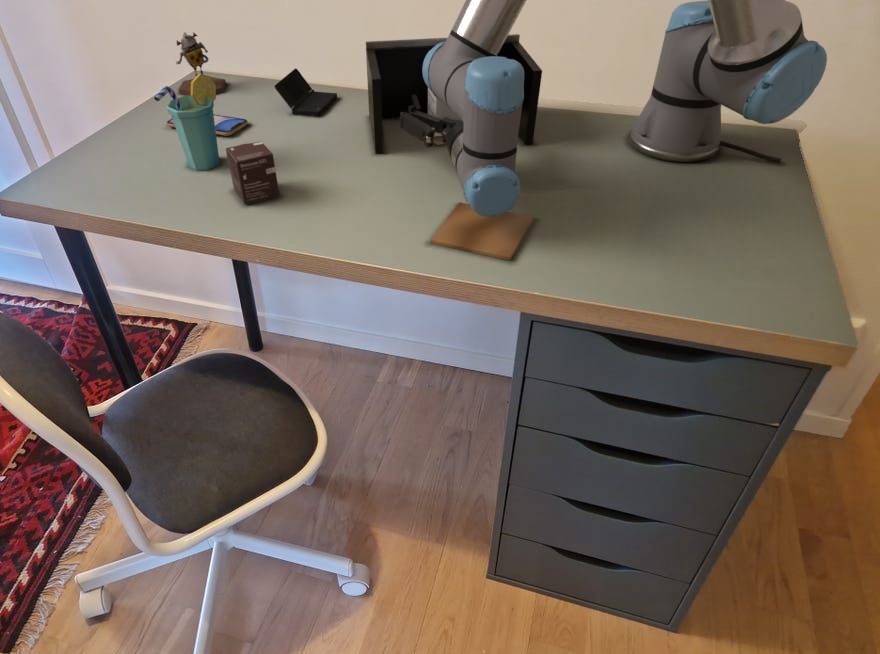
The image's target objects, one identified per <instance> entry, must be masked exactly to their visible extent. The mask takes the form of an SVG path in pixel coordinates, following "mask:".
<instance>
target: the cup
mask: <svg viewBox="0 0 880 654" xmlns="http://www.w3.org/2000/svg"><path fill="white" fill-rule="evenodd" d="M211 77H212V76H211V75H207V74H203V75H201V73H197V76H195V77H194V78H192V79H193V81H192V82H191V96H188V95H183V96H181V97H178V96H177V94H176V92H175V90H174V89H173V88H172V87H171V86H168V85H165V86H163V88H161V90H160V91H158V92H157V94H155V96H154V101H155V102H160V100H162V98H164V97H165V96H166V95H167V94H169V96H170V98H171V100H170V101H169V103H168V105H167V107H166V110H167V112H168V114H169V116H171V119H173V122H174V125H175V127H174V128H175V130H176V133H177V136H178V140H179V142H180V144H181V147H182V151H183V153H184V155H185V159H186V161H187V164H188V167H189V168H191V169H193V170H195V171H207V170H208V171H209V170H211V169H213V168H215V167H218V165H219V164H220V154H219V146H218V139H217V134H216V131H215V123H214V115H215V114H214V106H215V104H214V103H215V102H214V101H215V100H216V99H217V94H216V84H215V83H214V81H213V80H212V78H211ZM213 114H214V115H213Z"/></svg>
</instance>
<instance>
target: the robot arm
mask: <svg viewBox="0 0 880 654" xmlns="http://www.w3.org/2000/svg"><path fill="white" fill-rule="evenodd" d="M526 2H527V0H465V1H464V3H463V5H462V7H461V9H460V12H459V14H458V15H457V18H456V20H455V22H454V24H453V26H452V28H451V30H450V32H449V34H448V36H447V37H446V38H447V40H446V42H441V43H439V44H437V45H436V46H434V47H433V48H432V49H431V50H430V51H429V52H428V53H427V55H426V57H425V59H424V62H423V69H422V72H423V78H424V81H425V83H426V85H427V86H428V88H429V89H430V90H431V92H432V93H433V95H434V96H435V97H436V98H437V99H438V100H439V101H441V102H443V103H444V104H445V105H446V106H447V107H448V108H450V109H451V110H452V111H453V112H454V113H455V114H456V115H457V116H458V117H459V118H460V119H461V121H460V120H453V119H450V118H447V117H445V118H443V119H441V118H438V117H435V116H432V115H429V114H426V113H423V112H421V107H420V104H419V101H418V99H417V96H416V95H412V106H409V107H408V113H406V112H401V113H400V118H399V128H400V129H401V130H403V131H405V132H406V133H408V134H409V135H411V136H413V137H414V138H416V139H417V140H420V141H421V142H422V143H423V144H424V146H425V147H427V148H433V147H434V144H435V142H439V141H442V142H443V143H444V144H443V145H445V146H446V150H447V152H448V154H449V157H450V160H451V162H452V164H453V167H454V170H455V173H456V175H457V177H458V180H459V183H460V186H461V189H462V191H463V192H462V194H463V196H464V198H465V201H466V202H467V204H469V205H470V206H471V208H472V209H473V210H474V211H475V212H476V213H477V214H479V215H481V216H484V217H497V216H501V215H503V214H505V213H507V212H511V210H512V209H513V208H514V207H515V206H516V204H517V203H518V201H519V199H520V196H521V184H520V179H519V175H518V173H517V172H516V163H517V155H518V154H517V153H518V141H519V134H518V133H519V125H520V118H521V111H522V103H523V100H524V69H523V67H522V65H521V64H520V63H519V62H517V61H516V60H514V59H507V58H506V57H498V56H497V55H498V53H499V51H500V49H501V47H502V45H503V43H504V42H505V40H506V38H507V36H508V35H510V32H511V31H512V28H513V27H514V25H515V23H516V21H517V19H518V17H519V16H520V14H521V12H522V10H523V8H524V6H525V4H526ZM802 19H803V18H802V13H801V10H800V9H799V6H797V5H796V3H793V2H791V1H788V0H696V1H690V2H688V1H687V2H684V3H681V4H679V5H678V6H676V7H675V9H673V11H672V12H671V15H670V19H669V22H668V25H667V28H665V32H664V37H663V41H662V46H661V49H660V50H661V51H660V55H659V58H658V64H657V67H656V71H655V77H654V80H653V85H652V89H651V93H650V97H649V99H648V100H647V102H646V103H645V105H644V107H643V108H642V111H641V112H640V114H639V115H638V117H637V119H636V121H635V122H634V124H633V126H632V128H631V130H630V135H629V143H630V145H631V146H632V147H633V148H634V149H635V150H637V151H639V153H641V154H643V155H646V156H649V157H652V158H655V159H658V160H661V161H667V162H676V163H693V162H694V163H695V162H702V161H706V160H708V159H711V158H713V157H714V156H716V155H717V153H718V151H719V149H720V146H722V147H725V148H729V149H732V150H735V151H738V152H742V153H744V154H747V155H750V156H753V157H755V158H759V159H761V160H766V161H769V162H772V163H777V164H781V162H782V158H781V157H774V156H771V155H767V154H764V153H760V152H759V151H755V150H753V149H750V148H746V147H743V146H740V145H736V144H733V143H730V142H728V141H727V142H726V141H723V140H722V106H723V107H725V108H727V109H729V110H731V111H733V112H735V113H736V114H739V115H740V116H742V117H743V118H744V120H745V119H746V120H747V121H753V122H756V123H758V124H760V125H761V124H762V125H769V124H770V125H772V124H775V123H779V122H781V121H782V120H785V119H786V118H788V117H790V116H791V115H793V114H794V113H795V112H796V111H797V110H799V109H800V108H801V107H802V106H803V105H804V104H805V103H806V102H807V101H808V100H809V99H810V97H811V96H812V95H813V93H814V91H815V90H816V88H817V87H818V86H819V84H820V82H821V80H822V79H823V77H824V74H825V72H826V68H827V63H828V56H827V55H828V54H827V51H826V48H824V46H823V45H821V44H820V43H819V42H818V41H817V40H809V39H807V37H806V36H805V33H804V26H803V25H804V24H803V20H802ZM447 125H448V126H447Z"/></svg>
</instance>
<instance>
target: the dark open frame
mask: <svg viewBox="0 0 880 654" xmlns="http://www.w3.org/2000/svg"><path fill="white" fill-rule="evenodd" d="M520 37H521V34H519V33H517V34H514V33H513V34H508V36H507V38H506V40H505V42H504V43H503V45H502V47H501V49H500V51H499V53H498V55H497V56H498V57H506V58H507V59H514V60H516V61H517V62H519V63H520V64H521V65H522V67H523V69H524V100H523V103H522V111H521V118H520V125H519V133H518V137H519V138H520V140H521V141H522V144H523V145H524V146H533V145H534V137H535V131H536V122H537V115H538V108H539V99H540V98H539V97H540V91H541V85H542V76H543V75H542V74H543V69H542V68H541V67H540V66H539V65H538V63H537V62H536V61H535V60H534V59H533V57H532V56H531V55H530V54H529V52H528V51H527V50H526V49H525V47H524V46H523V45H522V44H521V42H520ZM447 38H448V37H436V38H435V37H434V38H432V37H431V38H413V39H392V40H391V39H390V40H389V39H388V40H370V41H365V59H366V61H365V62H366V76H367V78H366V81H367V98H368V99H367V100H368V117H369V124H370V129H371V134H372V140H373V141H372V142H373V148H374V154H375V155H381V154H382V155H383V154H385V153H384V126H383V125H384V124H383V120H390V119H391V120H392V119H400V113H401V112H406V113H408V107H409V106H412V95H416V96H417V99H418V101H419V104H420V107H421V112H423V113H426V114H428V86H427V85H426V83H425V81H424V78H423V72H422V69H423V62H424V59H425V57H426V55H427V53H428V52H429V51H430V50H431V49H432V48H433V47H434V46H436V45H437V44H439V43H441V42H446V40H447Z"/></svg>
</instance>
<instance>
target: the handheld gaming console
mask: <svg viewBox="0 0 880 654" xmlns="http://www.w3.org/2000/svg"><path fill="white" fill-rule="evenodd" d="M274 89H275V90H276V92H277V93H278V95H280V97H281V98H282V99H283V100H284V102H285V104H287V106H288V107H289V109H291V114H292V115H298V116H309V117H320V116H322V114H324V112H325V111H326V110H328V108H329V107H330V106H331V105H332V104H333V103H335V101H336V100H337V99H338V93H337V92H328V91H327V92H326V91H315V90H314V89H313V87H311V86H310V84H309V83H308V81H307V80H306V78H305V77H304V76H303V75H302V73H301V72H300V70H298V68H294V69H293V70H291V71H290V72H289V73H287V75H285V76H284V77H283V78H282V79H280V81H278V82H277V83H275V85H274Z"/></svg>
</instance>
